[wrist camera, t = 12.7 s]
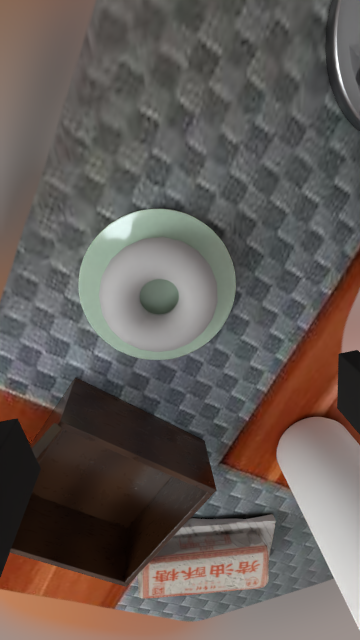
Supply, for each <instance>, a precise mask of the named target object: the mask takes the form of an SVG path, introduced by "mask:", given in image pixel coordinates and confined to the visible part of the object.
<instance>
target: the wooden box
mask: <svg viewBox="0 0 360 640" xmlns="http://www.w3.org/2000/svg"><path fill="white" fill-rule="evenodd" d="M53 423H56V424H57V425H59V426H60V427H61V428H62V430H61V431H60V433H59V434H58V436H57V437H56V438H55V440H54V441H53V443H52V444H51V446H50V447H49V449H48V450H47V451H46V453H45V454H44V456H43V457H42V459H41V460H40V462H39V463H38V464H39V466H40V468H41V470H40V473H39V475H38V478H37V481H36V483H35V486H34V489H33V491H32V494H31V497H30V499H29V502H28V505H27V507H26V510H25V513H24V515H23V518H22V521H21V523H20V526H19V529H18V531H17V534H16V537H15V539H14V542H13V545H12V547H11V550H10V553H14V554H17V555H21V556H24V557H27V558H31V559H34V560H38V561H41V562H44V563H48V564H51V565H54V566H58V567H61V568H65V569H68V570H71V571H75V572H78V573H82V574H85V575H88V576H92V577H95V578H99V579H102V580H105V581H109V582H112V583H115V584H119V585H122V586H126V587H127V586H128V585H129V583H130V582H131V581H132V580H133V579H134V578H135V577H136V576H137V575H138V574H139V573H140V572H141V571H142V570H143V569H144V567H145V566H146V565H147V564H148V563H149V562H150V561H151V560H152V559H153V558H154V557H155V556H156V555H157V553H158V552H159V551H160V550H161V549H162V548H163V547H164V546H165V545H166V544H167V543H168V542H169V541H170V540H171V538H172V537H173V536H174V535H175V534H176V533H177V532H178V531H179V530H180V529H181V528H182V527H183V526H184V524H185V523H186V522H187V521H188V520H189V519H190V518H191V517H192V516H193V515H194V514H195V513H196V512H197V511H198V509H199V508H200V507H201V506H202V505H203V504H204V503H205V502H206V501H207V500H208V499H209V498H210V497H211V495H212V494H213V493H214V492H215V491H216V487H215V482H214V478H213V474H212V470H211V466H210V462H209V458H208V454H207V449H206V445H205V441H204V440H202V439H200V438H198V437H196V436H194V435H192V434H190V433H188V432H186V431H184V430H181V429H179V428H177V427H175V426H173V425H171V424H169V423H167V422H165V421H163V420H161V419H159V418H157V417H155V416H153V415H151V414H149V413H147V412H145V411H143V410H141V409H139V408H137V407H135V406H133V405H131V404H129V403H127V402H125V401H123V400H120V399H118V398H116V397H114V396H112V395H110V394H108V393H106V392H104V391H102V390H100V389H98V388H96V387H94V386H92V385H90V384H88V383H86V382H84V381H82V380H80V379H78V378H75V379H74V380H73V382H72V383H71V385H70V386H69V388H68V389H67V391H66V392H65V394H64V395H63V397H62V398H61V400H60V401H59V403H58V404H57V406H56V407H55V409H54V410H53V412H52V413H51V415H50V416H49V418H48V419H47V421H46V422H45V424H44V425H43V427H42V428H41V430H40V431H39V433H38V434H37V436H36V437H35V439H34V440H33V442H32V443H31V445H30V446H31V448H32V447H33V446H34V445H35V444H36V442H37V441H38V440H39V439H40V438H41V437H42V436H43V435H44V433H45V432H46V431H47V430H48V429H49V428H50V427H51V426H52V425H53Z"/></svg>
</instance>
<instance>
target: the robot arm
mask: <svg viewBox="0 0 360 640" xmlns="http://www.w3.org/2000/svg"><path fill="white" fill-rule="evenodd" d="M326 63H327V70H328V76H329V80H330V85H331V88H332V91H333V94H334V96H335V99H336V101H337V103H338V105H339V107H340V109H341V110H342V112H343V114H344V115H345V116H346V118H347V119H348V120H349V121H350V122H351V124H352V125H353V126H354V127H355V128H357V129H358V130H359V131H360V0H332V2H331V6H330V10H329V16H328V22H327V31H326ZM337 408H338V409H339V411H340V412H341V413H342V414H343V415H344V416H345V418H346V419H347V420H348V421H349V422H350V423H351V425H352V426H353V427H354V428H355V429H356V430H357V432H358V433H359V434H360V352H359V351H358V350H355V351H350V352H345V353H340V354H339V363H338V402H337ZM40 470H41V468H40V466H39V464H38V461H37V459H36V457H35V455H34V453H33V451H32V449H31V446H30V444H29V442H28V440H27V438H26V436H25V434H24V431H23V429H22V427H21V425H20V423H19V421H18V419H12V420H7V421H2V422H0V577H1V574H2V571H3V569H4V566H5V563H6V561H7V558H8V555H9V553H10V550H11V547H12V545H13V542H14V539H15V537H16V534H17V531H18V529H19V526H20V523H21V521H22V518H23V515H24V513H25V510H26V507H27V505H28V502H29V499H30V497H31V494H32V491H33V489H34V486H35V483H36V481H37V478H38V475H39V473H40Z"/></svg>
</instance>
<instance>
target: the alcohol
mask: <svg viewBox="0 0 360 640" xmlns="http://www.w3.org/2000/svg"><path fill="white" fill-rule="evenodd" d="M276 456H277V461H278V464H279V466H280V468H281V470H282V472H283V474H284V476H285V478H286V480H287V482H288V484H289V486H290V489H291V491H292V493H293V495H294V497H295V499H296V501H297V503H298V505H299V507H300V509H301V511H302V513H303V515H304V517H305V519H306V521H307V523H308V525H309V527H310V530H311V532H312V534H313V536H314V538H315V540H316V542H317V544H318V546H319V548H320V550H321V552H322V554H323V556H324V558H325V560H326V562H327V564H328V566H329V568H330V571H331V573H332V575H333V577H334V579H335V581H336V583H337V585H338V587H339V589H340V591H341V593H342V595H343V597H344V599H345V601H346V603H347V605H348V607H349V609H350V612H351V614H352V615H353V618H354V620H355V622H356V623H357V626H358V628H359V630H360V445H359V444H358V443H357V441H356V440H355V439H354V438H353V437H352V435H351V434H350V433H349V432H348V431H347V429H346V428H345V427H344V426H343V425H342V424H341V423H339V422H337V421H335V420H332V419H328V418H324V417H310V418H306V419H303V420H300V421H298V422H296V423H294V424H293V425H291V426H290V427H289V428H288V429H287V430H286V431H285V432H284V433H283V435H282V436H281V438H280V440H279V443H278V447H277V454H276Z"/></svg>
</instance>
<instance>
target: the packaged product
mask: <svg viewBox="0 0 360 640" xmlns="http://www.w3.org/2000/svg"><path fill="white" fill-rule="evenodd" d="M275 522H276V520H275V518H274V516H273V514H272V515H266V516H260V517H255V518H249V519H237V518H234V519H196V518H191V519H189V520H188V521H187V522H186V523H185V524H184V526H183V527H182V528H181V529H180V530H179V531H178V532H177V533H176V534H175V535H174V536H173V537H172V538H171V540H170V541H169V542H168V543H167V544H166V545H165V546H164V547H163V548H162V549H161V550H160V551H159V552H158V553H157V555H156V556H155V557H154V558H153V559H152V560H151V561H150V562H149V563H148V564H147V565H146V566H145V567H144V569H143V570H142V571H141V572H140V573H139V574H138V575H137V578H138V585H139V587H138V589H139V597H140V598H142V599H143V598H159V597H168V596H182V595H192V594H203V593H213V592H225V591H234V590H244V589H255V588H261V587H264V586H265V585H266V584H267V583H268V581H269V575H268V569H269V564H268V563H269V562H268V561H269V556H270V548H271V544H272V540H273V535H274V530H275Z"/></svg>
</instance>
